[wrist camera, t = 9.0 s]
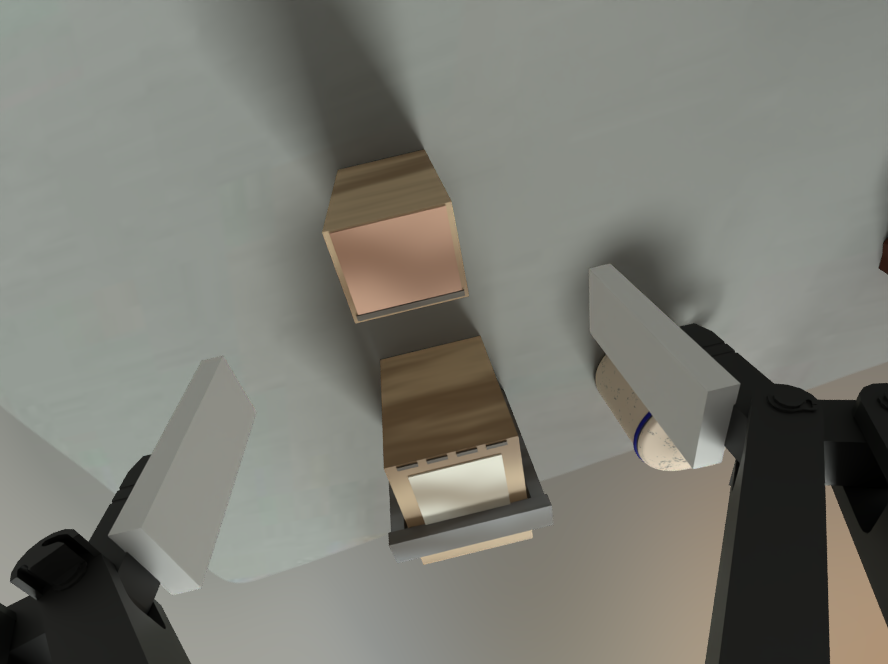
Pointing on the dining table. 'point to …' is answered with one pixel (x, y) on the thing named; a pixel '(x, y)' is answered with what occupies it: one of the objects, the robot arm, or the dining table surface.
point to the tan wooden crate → (454, 456)
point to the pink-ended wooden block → (394, 237)
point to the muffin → (884, 257)
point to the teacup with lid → (637, 420)
